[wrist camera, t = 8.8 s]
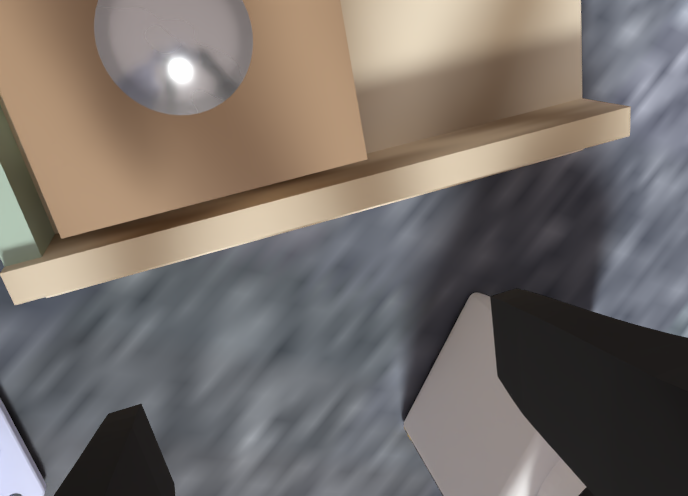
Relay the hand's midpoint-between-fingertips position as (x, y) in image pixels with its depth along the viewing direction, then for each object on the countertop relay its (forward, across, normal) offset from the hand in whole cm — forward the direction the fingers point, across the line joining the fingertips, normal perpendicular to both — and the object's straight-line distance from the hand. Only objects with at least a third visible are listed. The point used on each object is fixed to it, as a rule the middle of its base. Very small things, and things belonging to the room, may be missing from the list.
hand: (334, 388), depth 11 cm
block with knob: (+9, +1, -7) cm, 12 cm away
